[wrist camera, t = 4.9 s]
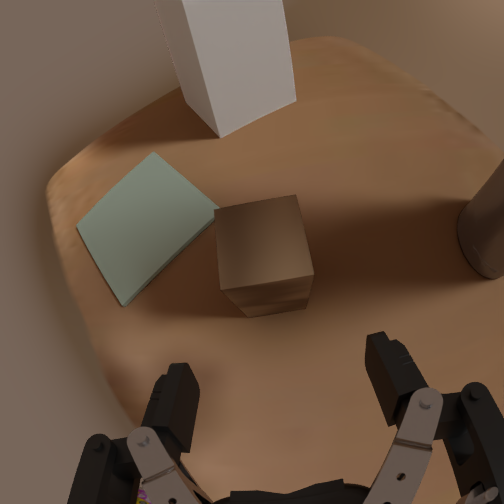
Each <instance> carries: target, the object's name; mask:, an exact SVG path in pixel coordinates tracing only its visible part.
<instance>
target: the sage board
mask: <svg viewBox="0 0 504 504" xmlns="http://www.w3.org/2000/svg"><path fill="white" fill-rule="evenodd" d="M214 209H219V207H218V206H217V205H216V204H215V203H213V202H212V201H211V200H210V199H209V198H208V197H206V196H205V195H204V194H203V193H202V192H201V191H199V190H198V189H197V188H196V187H195V186H194V185H192V184H191V183H190V182H189V181H188V180H187V179H185V178H184V177H183V176H182V175H181V174H180V173H178V172H177V171H176V170H175V169H174V168H173V167H171V166H170V165H169V164H168V163H167V162H166V161H164V160H163V159H162V158H161V157H160V156H158V155H157V154H156V153H155V152H152V153H151V154H150V155H149V156H148V157H146V158H145V159H144V160H143V161H142V162H141V163H139V164H138V165H137V166H136V167H135V168H134V169H133V170H131V171H130V172H129V173H128V174H127V175H126V176H125V177H124V178H123V179H122V180H120V181H119V182H118V183H117V184H116V185H115V186H114V187H113V188H112V189H111V190H110V191H109V192H108V193H107V194H106V195H105V196H104V197H103V198H102V199H101V200H100V201H99V202H98V203H97V204H96V205H95V206H94V207H93V208H92V209H91V210H90V211H89V212H88V213H87V214H86V215H85V216H84V217H83V218H82V219H81V221H80V222H79V223H78V224H77V225H76V226H77V228H78V230H79V232H80V234H81V236H82V238H83V240H84V242H85V244H86V246H87V248H88V250H89V251H90V253H91V255H92V257H93V259H94V260H95V262H96V264H97V266H98V267H99V269H100V271H101V272H102V274H103V276H104V278H105V279H106V281H107V283H108V284H109V286H110V287H111V289H112V291H113V292H114V294H115V295H116V297H117V298H118V300H119V302H120V303H121V305H122V306H124V307H126V306H127V305H128V304H129V303H130V302H131V301H132V300H133V299H134V298H135V297H136V295H137V294H138V293H139V292H140V291H141V290H142V289H143V288H144V287H145V286H146V285H147V284H148V283H149V282H150V281H151V280H152V279H153V278H154V277H155V276H156V275H157V274H158V273H160V272H161V271H162V270H163V269H164V268H165V267H166V266H167V265H168V264H169V263H170V262H171V261H172V260H173V259H174V258H175V257H176V256H177V255H178V254H179V253H180V252H181V251H182V250H183V249H184V248H185V247H186V246H187V245H189V244H190V243H191V242H192V241H193V240H194V239H195V238H196V237H197V236H198V235H199V234H200V233H201V232H202V231H203V230H205V229H206V228H207V227H208V226H209V225H210V224H211V223H212V222H213V221H214Z"/></svg>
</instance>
